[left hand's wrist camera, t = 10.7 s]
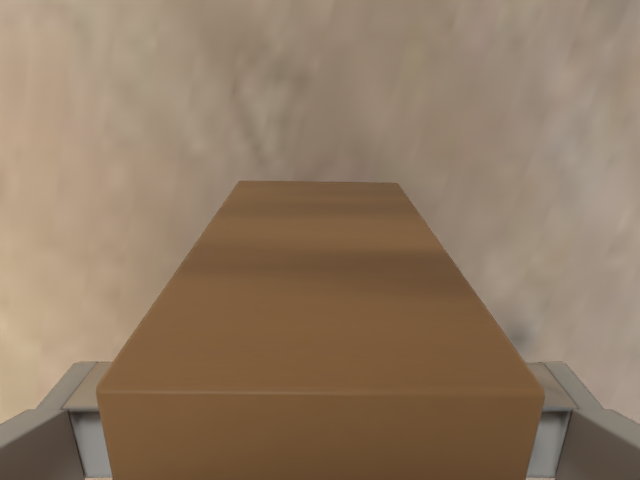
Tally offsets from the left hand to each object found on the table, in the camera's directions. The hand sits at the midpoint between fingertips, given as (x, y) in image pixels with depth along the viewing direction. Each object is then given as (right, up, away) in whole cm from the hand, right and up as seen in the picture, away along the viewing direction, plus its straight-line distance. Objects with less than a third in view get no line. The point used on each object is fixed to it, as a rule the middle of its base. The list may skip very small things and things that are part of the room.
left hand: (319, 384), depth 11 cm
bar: (0, -8, +8) cm, 11 cm away
